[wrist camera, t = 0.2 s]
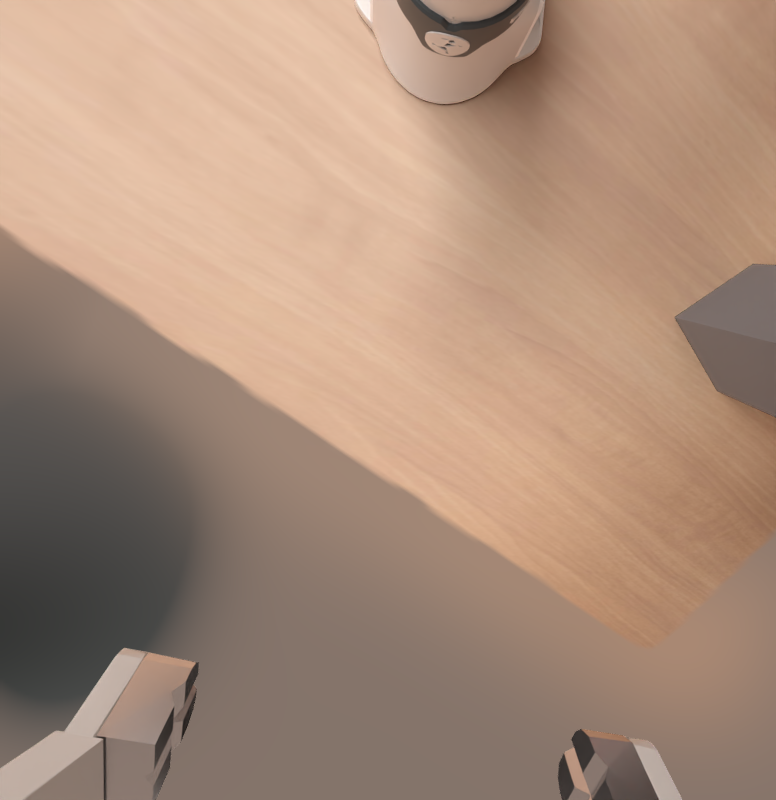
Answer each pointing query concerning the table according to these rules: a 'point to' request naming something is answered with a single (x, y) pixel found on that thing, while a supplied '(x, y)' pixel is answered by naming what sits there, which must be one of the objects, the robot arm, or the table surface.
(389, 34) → the robot arm
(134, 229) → the table surface
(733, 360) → the column
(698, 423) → the table surface
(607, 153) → the table surface
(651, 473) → the table surface
